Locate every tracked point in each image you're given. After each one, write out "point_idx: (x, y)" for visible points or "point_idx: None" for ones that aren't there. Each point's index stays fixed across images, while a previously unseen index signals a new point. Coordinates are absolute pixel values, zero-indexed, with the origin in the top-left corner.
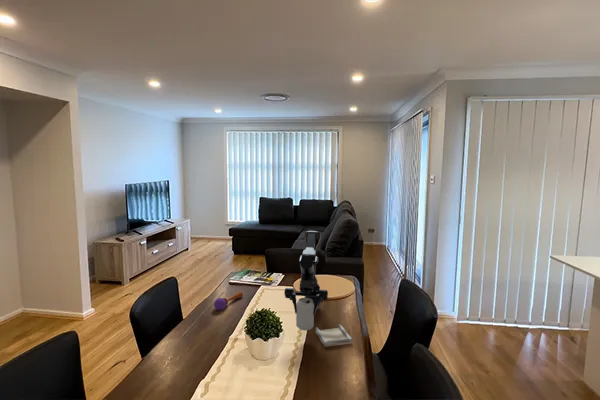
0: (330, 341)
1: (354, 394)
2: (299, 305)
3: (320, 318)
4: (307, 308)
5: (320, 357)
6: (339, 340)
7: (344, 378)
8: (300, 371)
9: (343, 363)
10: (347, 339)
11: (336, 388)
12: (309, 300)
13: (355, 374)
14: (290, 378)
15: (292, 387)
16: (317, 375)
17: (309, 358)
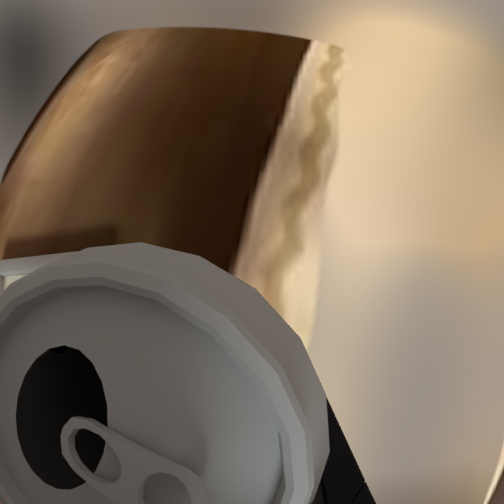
0: (73, 252)
1: (139, 28)
2: (285, 353)
3: None
4: (123, 245)
5: (165, 175)
6: (32, 256)
7: (130, 69)
8: (280, 106)
9: (90, 133)
10: (1, 261)
11: (176, 40)
12: (24, 472)
13: (88, 84)
14: (321, 85)
15: (315, 56)
16: (217, 81)
17: (221, 174)
